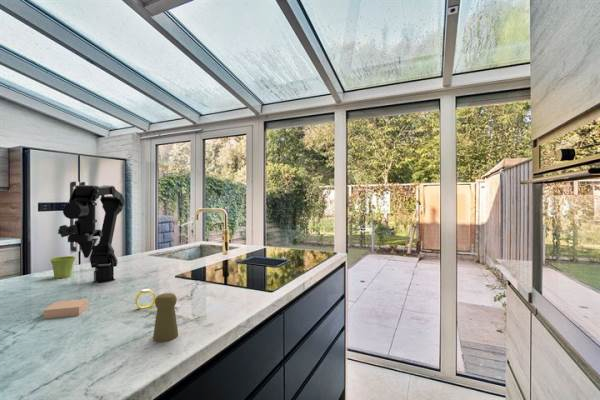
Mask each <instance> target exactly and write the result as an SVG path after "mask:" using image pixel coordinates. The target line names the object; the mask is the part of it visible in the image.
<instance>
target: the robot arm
mask: <svg viewBox="0 0 600 400" xmlns="http://www.w3.org/2000/svg"><path fill="white" fill-rule="evenodd" d="M99 198H100V199H99ZM98 199H99V201H100V203H101V204H102V206H101V207H102V209H103V211H104V217H103V222H102V227H101V229H96V223H98V219H96V206H98V203H97V202H96V201H97V200H98ZM125 203H126V201H125V197H124V196H123V194H122V193H121V192H119V191H118V190H117V189H116V187H115V185H114V186H113V185H100V186H99V185H93V184H91V185H89V184H87V185H86V184H85V185H84V184H83V185H82V184H81V185H80V184H78V185H76V186H75V188H74V189H73V191H72V193H71V196H70V197H69V199H68V203H67V204H66V205H65V206H64V207H63V209H62V214H63V216H64V217H65V218H67V219H69V220H75V221H74V224H71V225H69V226H68V225H67V224H63V225H60V226H59V228H58V230H57V231H58V232H57V234H58V235H60V237H61V238H65V237H67V243H76V244H78V245H79V246H80V249H81V251H82V254H83V258H84V259H88V258H89V262H90V268H91V269H94V270H93V281H94V282H96V283H97V284H100V283H107V282H112V281H115V280H116V278H114V276H115V275H114V274H115V273H114V272H115V271H114V267H118V259H117V256H116V254H115V250H114V248H113V246H112V243H113V238H114V233H115V228H116V224H117V223H116V222H117V217H118V215H119V214H120V213H121V212H123V210H124V209H123V208H124V206H125ZM95 237H97V238H95ZM98 237H99V238H98ZM98 239H99V241H98V243H97V240H98ZM96 243H97V244H96ZM95 244H96V245H95Z"/></svg>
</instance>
